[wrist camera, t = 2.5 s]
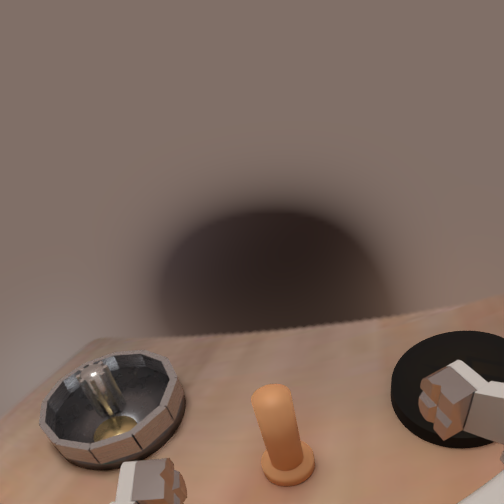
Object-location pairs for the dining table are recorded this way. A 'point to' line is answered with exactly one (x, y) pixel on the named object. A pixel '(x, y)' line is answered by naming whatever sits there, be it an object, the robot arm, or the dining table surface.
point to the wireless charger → (433, 359)
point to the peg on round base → (281, 437)
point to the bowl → (114, 409)
